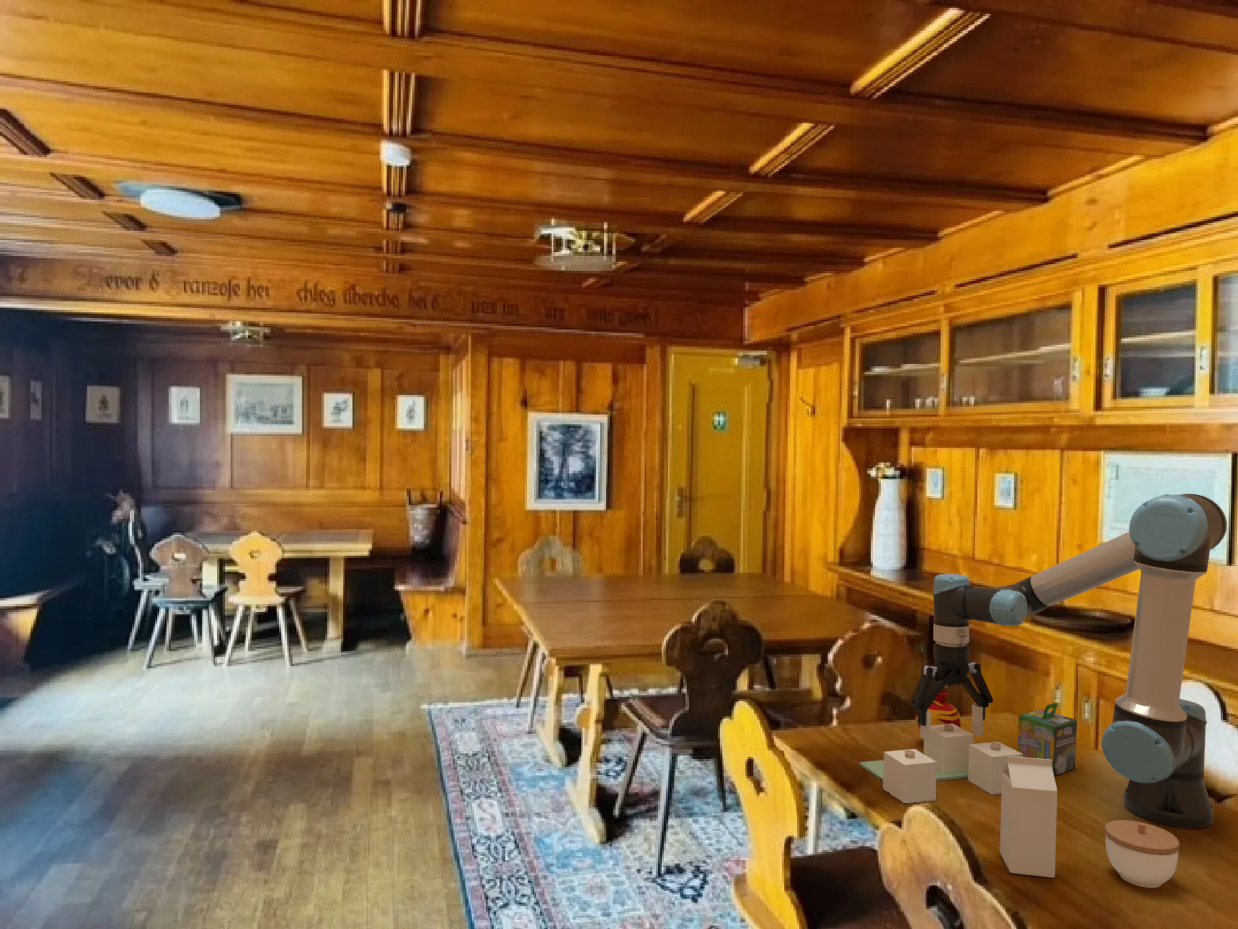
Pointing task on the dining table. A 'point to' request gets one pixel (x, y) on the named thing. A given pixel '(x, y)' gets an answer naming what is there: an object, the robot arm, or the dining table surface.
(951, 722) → the potion bottle
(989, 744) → the cloche right
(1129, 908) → the dining table surface
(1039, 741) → the chalk box
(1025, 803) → the milk carton
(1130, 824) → the lidded jar
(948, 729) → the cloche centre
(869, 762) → the felt mat
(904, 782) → the cloche left
